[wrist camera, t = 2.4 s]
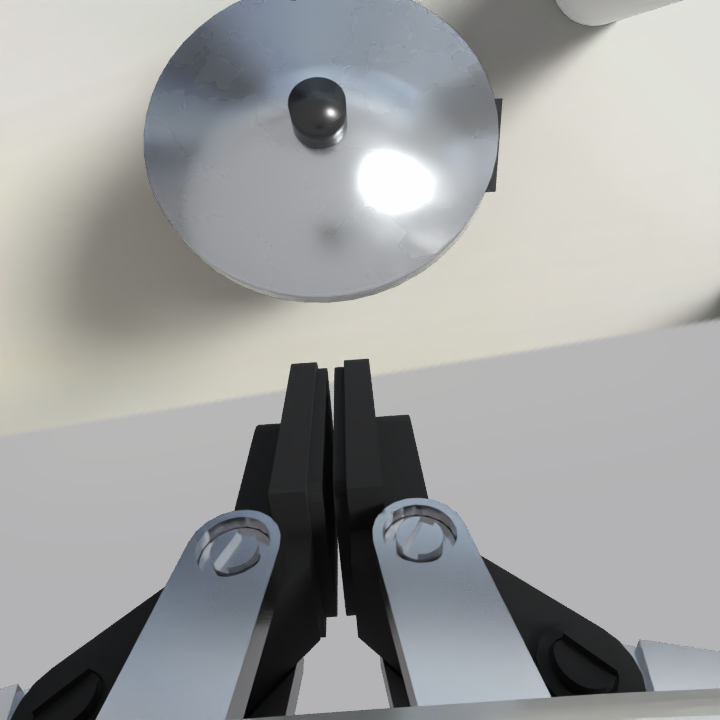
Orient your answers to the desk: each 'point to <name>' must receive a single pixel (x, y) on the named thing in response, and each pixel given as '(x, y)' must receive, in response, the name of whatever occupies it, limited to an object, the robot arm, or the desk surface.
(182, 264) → the desk surface
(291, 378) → the robot arm
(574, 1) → the cylindrical container
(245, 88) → the lid
